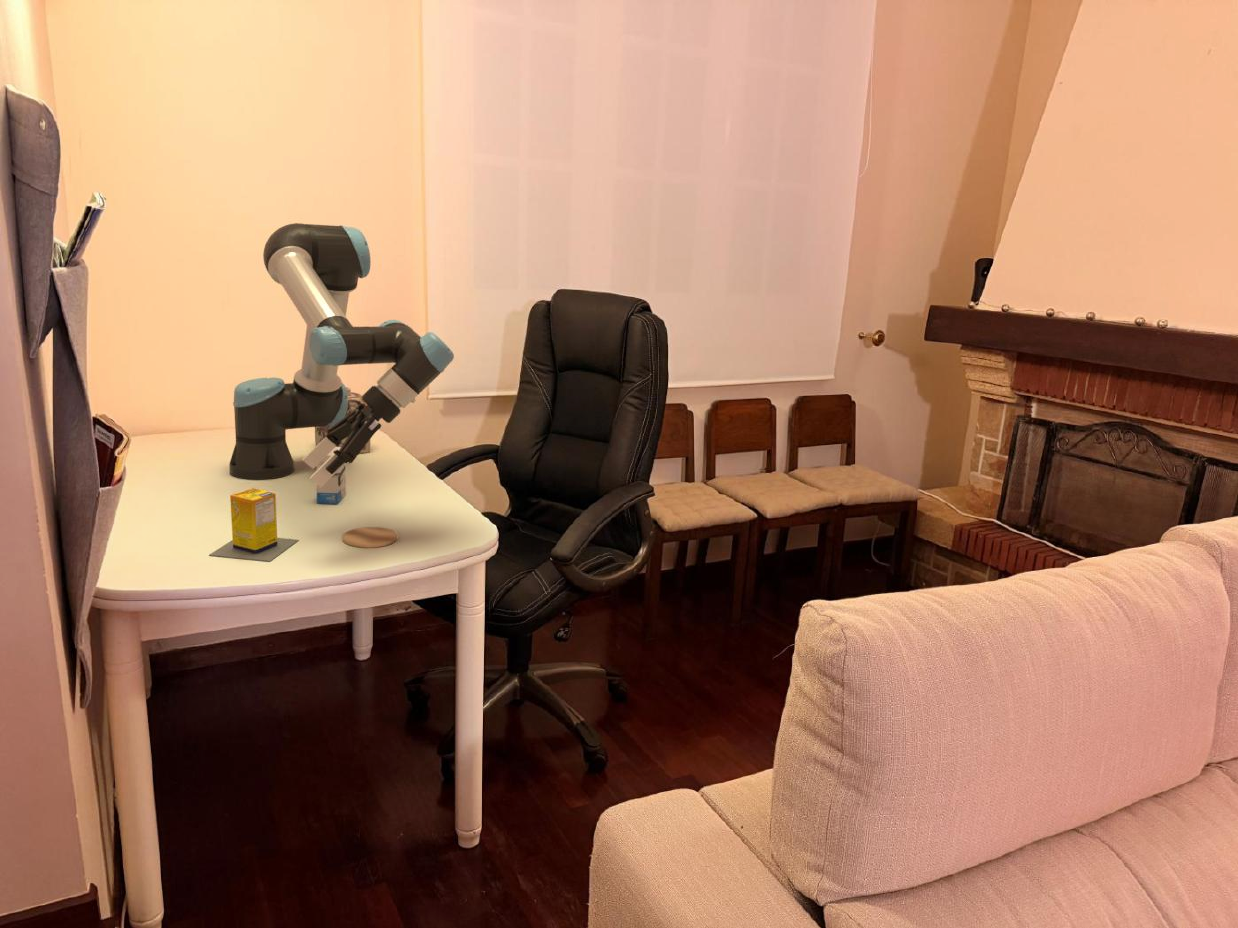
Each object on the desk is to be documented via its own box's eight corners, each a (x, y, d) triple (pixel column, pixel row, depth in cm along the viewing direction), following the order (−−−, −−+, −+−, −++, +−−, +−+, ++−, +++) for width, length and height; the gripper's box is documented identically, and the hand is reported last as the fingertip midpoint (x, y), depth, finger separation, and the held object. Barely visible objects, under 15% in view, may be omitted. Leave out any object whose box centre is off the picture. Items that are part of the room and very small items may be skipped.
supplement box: (255, 539, 173) (252, 487, 170) (278, 545, 171) (276, 492, 168) (231, 548, 168) (229, 494, 165) (255, 554, 166) (253, 499, 163)
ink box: (338, 505, 198) (337, 455, 195) (315, 504, 198) (314, 454, 195) (346, 494, 206) (346, 446, 203) (325, 493, 206) (324, 445, 203)
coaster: (354, 527, 184) (354, 524, 184) (404, 532, 184) (404, 529, 183) (333, 545, 174) (333, 542, 174) (386, 550, 173) (386, 547, 173)
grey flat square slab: (241, 535, 176) (241, 533, 176) (298, 540, 175) (298, 539, 175) (209, 555, 164) (209, 554, 164) (270, 561, 163) (270, 560, 163)
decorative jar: (314, 448, 245) (313, 385, 241) (353, 443, 253) (352, 383, 248) (331, 457, 237) (330, 393, 232) (371, 453, 244) (371, 390, 240)
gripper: (415, 423, 164) (333, 504, 161) (390, 398, 185) (318, 468, 183) (386, 396, 160) (302, 478, 157) (364, 373, 182) (291, 445, 179)
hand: (311, 473), depth 170 cm, fingers open, 13 cm apart
